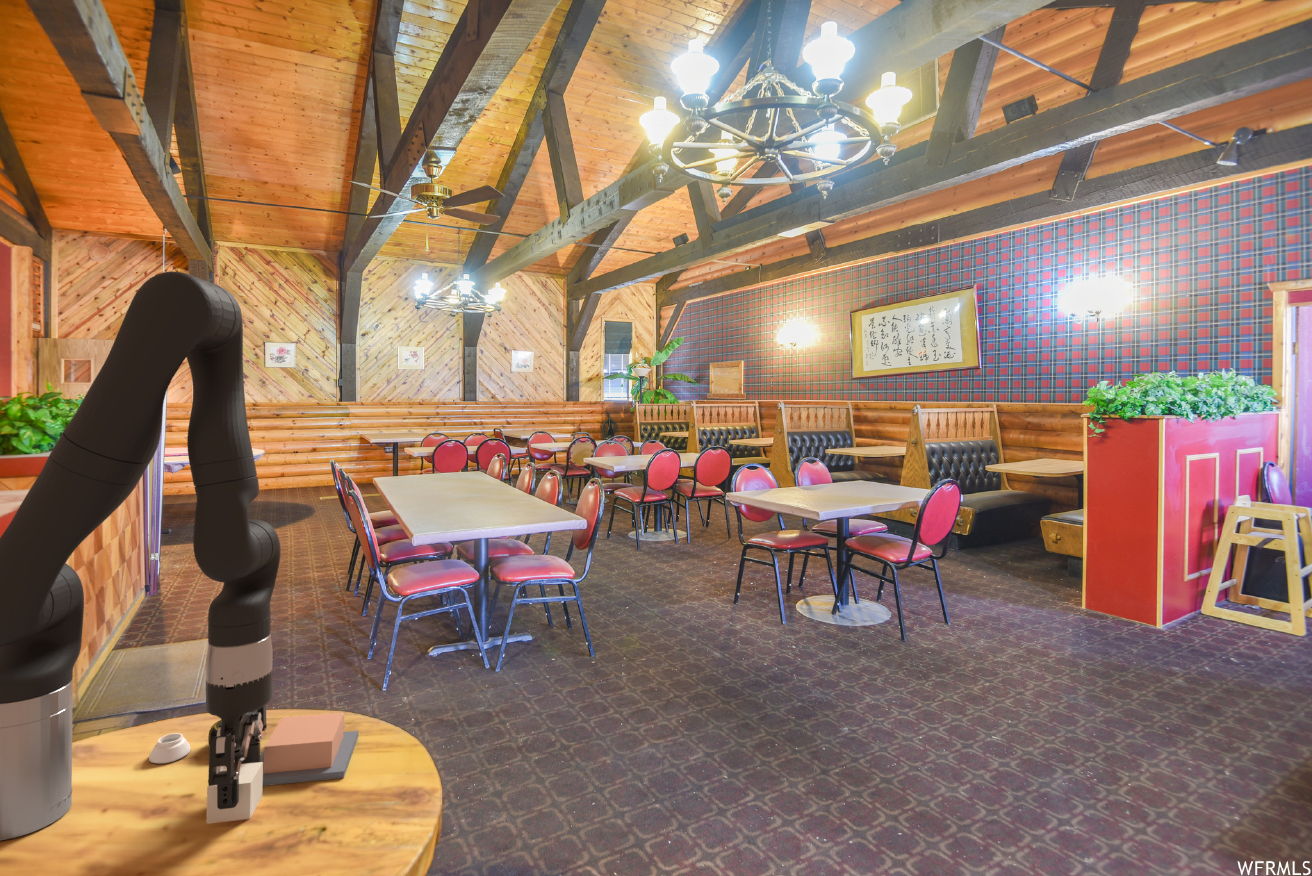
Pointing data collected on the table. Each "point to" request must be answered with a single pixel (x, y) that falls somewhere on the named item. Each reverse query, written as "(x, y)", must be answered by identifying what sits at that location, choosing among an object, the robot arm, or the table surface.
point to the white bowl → (169, 748)
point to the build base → (308, 749)
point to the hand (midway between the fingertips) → (239, 787)
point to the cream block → (247, 795)
